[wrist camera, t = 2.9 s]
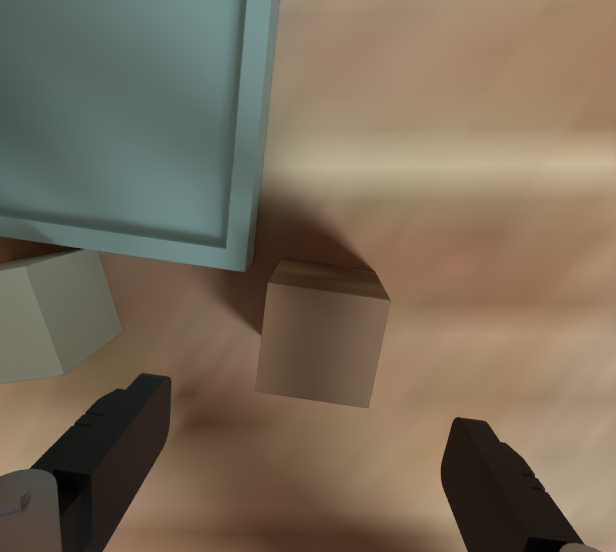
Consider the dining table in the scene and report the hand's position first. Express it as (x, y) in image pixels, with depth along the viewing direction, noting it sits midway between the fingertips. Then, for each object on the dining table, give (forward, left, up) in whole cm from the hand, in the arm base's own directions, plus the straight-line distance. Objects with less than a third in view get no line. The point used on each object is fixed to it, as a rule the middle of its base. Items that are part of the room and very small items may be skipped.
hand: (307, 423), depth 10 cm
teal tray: (+11, -9, -10) cm, 17 cm away
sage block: (+14, +2, -10) cm, 17 cm away
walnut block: (0, 0, -10) cm, 10 cm away
